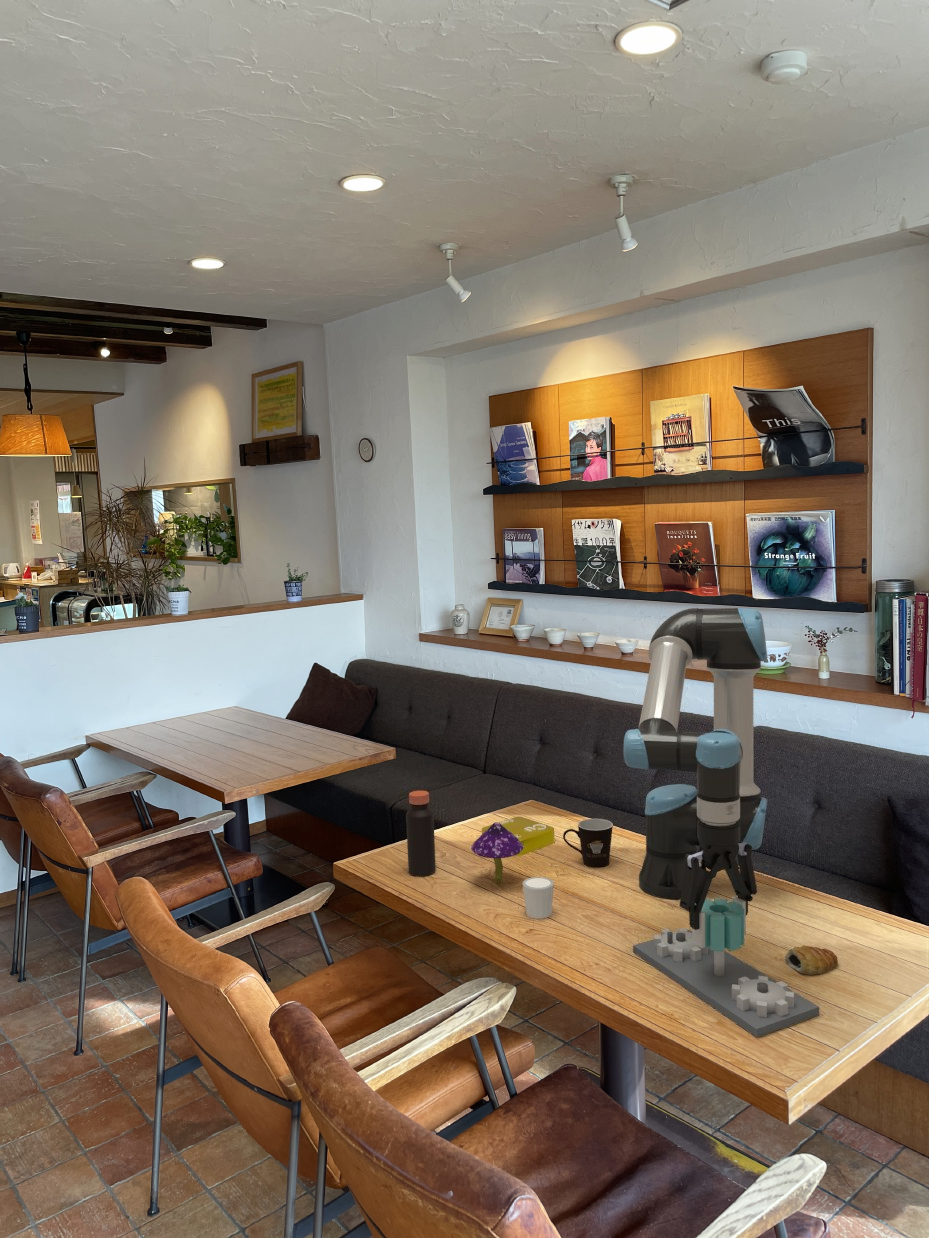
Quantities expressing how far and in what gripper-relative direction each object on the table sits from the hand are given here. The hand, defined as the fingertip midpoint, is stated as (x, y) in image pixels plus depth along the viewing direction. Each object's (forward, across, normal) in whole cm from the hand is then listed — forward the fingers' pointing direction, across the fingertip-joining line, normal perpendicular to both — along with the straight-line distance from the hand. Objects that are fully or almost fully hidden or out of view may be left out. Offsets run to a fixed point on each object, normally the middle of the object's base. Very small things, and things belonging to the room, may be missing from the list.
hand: (719, 938), depth 167 cm
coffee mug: (+9, +12, +61) cm, 63 cm away
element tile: (+9, +3, +83) cm, 83 cm away
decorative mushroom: (+9, -14, +61) cm, 63 cm away
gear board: (+8, 0, 0) cm, 8 cm away
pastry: (+9, +19, -4) cm, 21 cm away
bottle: (+9, -27, +77) cm, 82 cm away
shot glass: (+9, -14, +42) cm, 45 cm away
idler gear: (0, 0, 0) cm, 0 cm away
